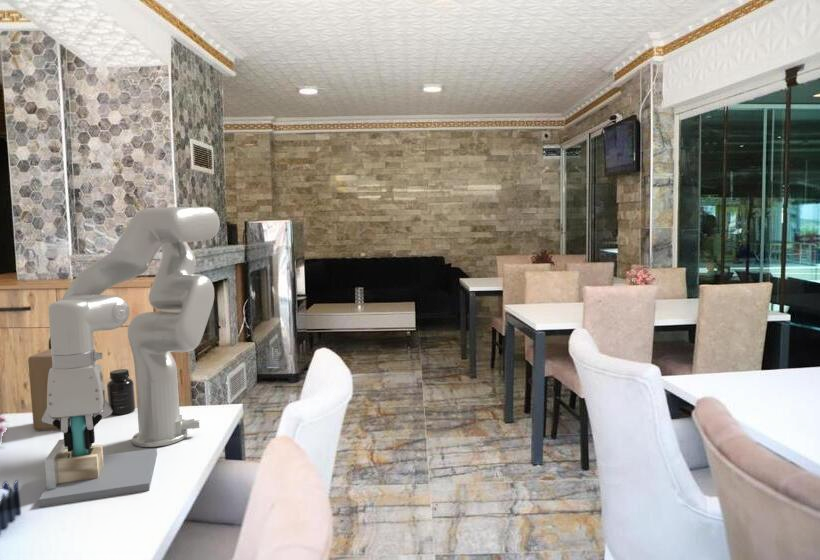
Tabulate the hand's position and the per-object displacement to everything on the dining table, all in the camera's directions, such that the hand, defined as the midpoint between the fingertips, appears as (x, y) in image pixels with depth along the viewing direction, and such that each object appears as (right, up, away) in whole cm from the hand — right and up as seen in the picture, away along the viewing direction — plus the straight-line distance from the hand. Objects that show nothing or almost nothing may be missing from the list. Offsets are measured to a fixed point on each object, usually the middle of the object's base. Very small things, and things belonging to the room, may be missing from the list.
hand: (80, 447), depth 121 cm
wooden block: (-26, -5, +37) cm, 45 cm away
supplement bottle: (-14, -3, +47) cm, 50 cm away
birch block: (0, -6, +1) cm, 6 cm away
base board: (+4, -7, +2) cm, 8 cm away
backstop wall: (-4, -6, -1) cm, 7 cm away
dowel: (0, -3, 0) cm, 3 cm away
